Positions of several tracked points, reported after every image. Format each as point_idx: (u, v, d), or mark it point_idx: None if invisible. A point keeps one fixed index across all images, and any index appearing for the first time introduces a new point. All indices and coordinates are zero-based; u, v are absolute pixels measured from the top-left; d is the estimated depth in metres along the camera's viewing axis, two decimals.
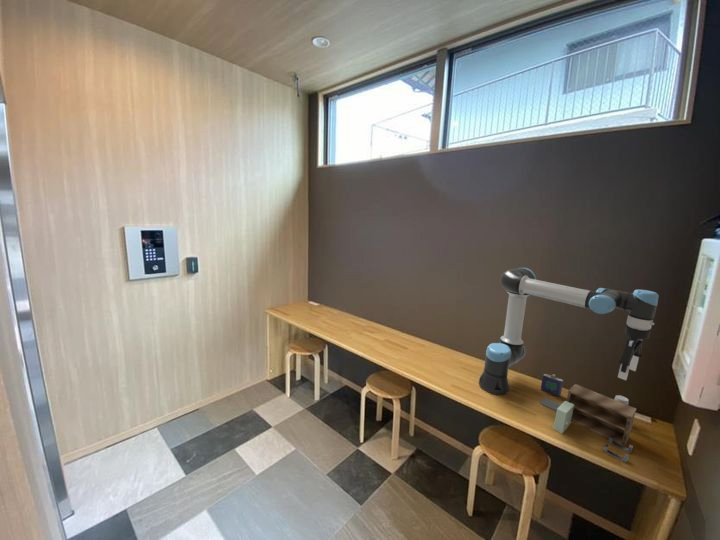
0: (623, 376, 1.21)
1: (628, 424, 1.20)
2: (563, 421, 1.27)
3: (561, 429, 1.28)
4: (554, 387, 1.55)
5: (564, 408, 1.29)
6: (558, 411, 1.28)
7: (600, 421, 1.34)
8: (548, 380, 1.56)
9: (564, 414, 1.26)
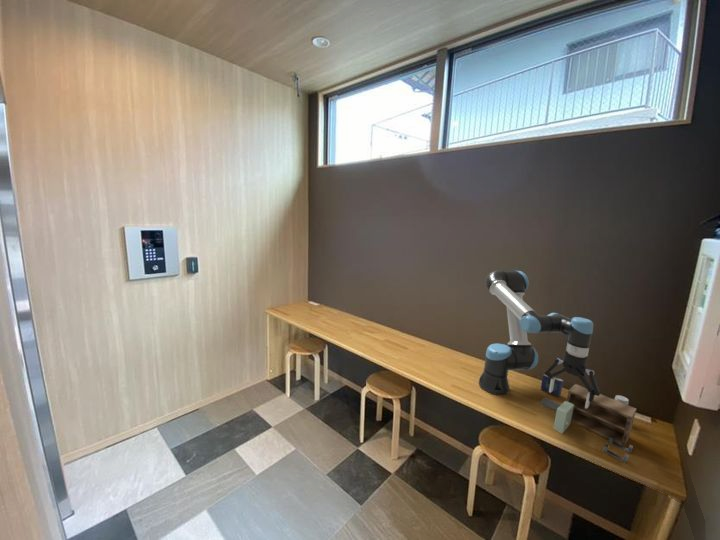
0: None
1: (628, 424, 1.20)
2: (563, 421, 1.27)
3: (561, 429, 1.28)
4: (554, 387, 1.55)
5: (564, 408, 1.29)
6: (558, 411, 1.28)
7: (600, 421, 1.34)
8: None
9: (564, 414, 1.26)
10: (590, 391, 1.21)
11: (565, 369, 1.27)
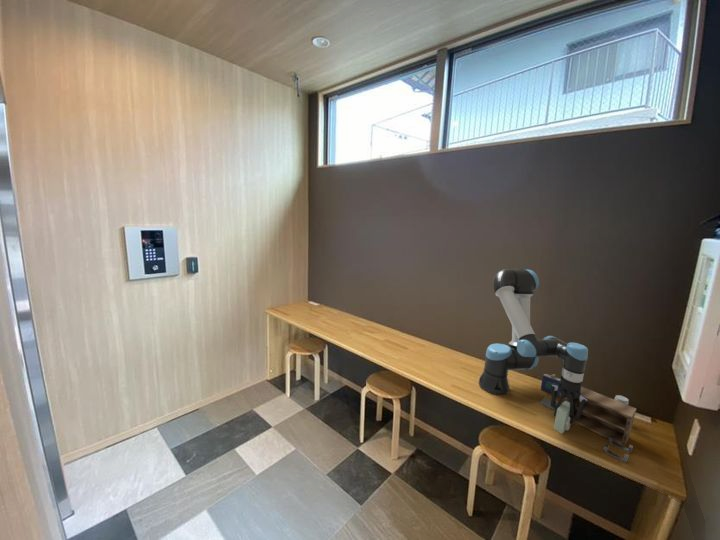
0: None
1: (628, 424, 1.20)
2: (563, 421, 1.27)
3: (561, 429, 1.28)
4: None
5: (564, 408, 1.29)
6: (558, 411, 1.28)
7: (600, 421, 1.34)
8: (548, 380, 1.56)
9: (564, 414, 1.26)
10: (572, 414, 1.27)
11: (562, 395, 1.29)
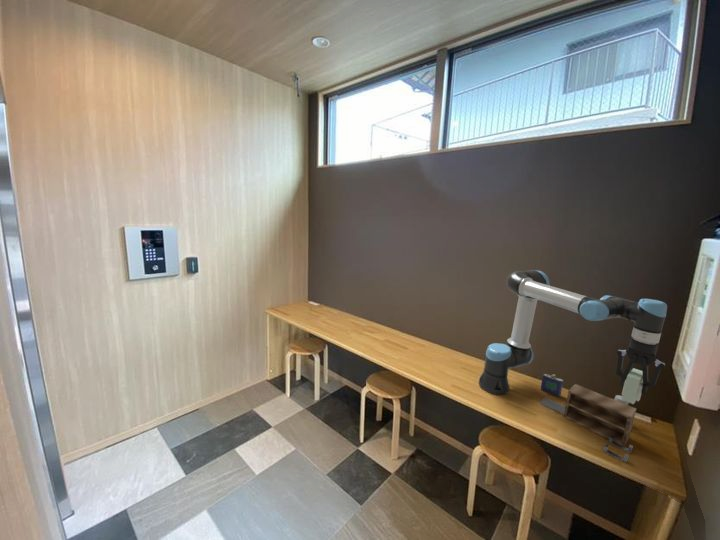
0: (622, 391, 1.16)
1: (628, 424, 1.20)
2: (635, 390, 1.09)
3: (632, 399, 1.10)
4: (554, 387, 1.55)
5: (635, 375, 1.11)
6: (629, 378, 1.10)
7: (600, 421, 1.34)
8: (548, 380, 1.56)
9: (637, 381, 1.09)
10: (645, 382, 1.10)
11: (633, 360, 1.12)
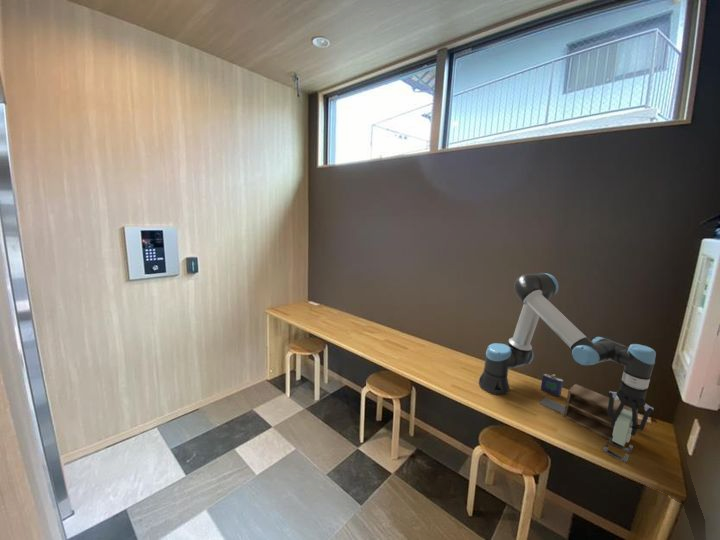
0: (613, 431, 1.19)
1: None
2: (625, 432, 1.13)
3: (622, 441, 1.14)
4: (554, 387, 1.55)
5: (625, 418, 1.15)
6: (619, 421, 1.14)
7: (600, 421, 1.34)
8: (548, 380, 1.56)
9: (627, 425, 1.12)
10: (634, 425, 1.13)
11: (623, 402, 1.15)
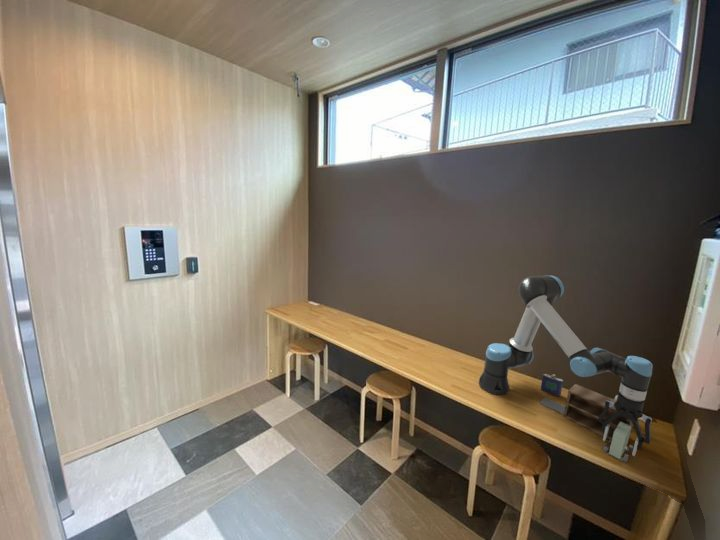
0: None
1: (628, 424, 1.20)
2: (622, 445, 1.14)
3: (619, 454, 1.15)
4: (554, 387, 1.55)
5: (621, 431, 1.16)
6: (615, 434, 1.15)
7: None
8: (548, 380, 1.56)
9: (623, 438, 1.13)
10: (640, 438, 1.12)
11: (619, 413, 1.16)
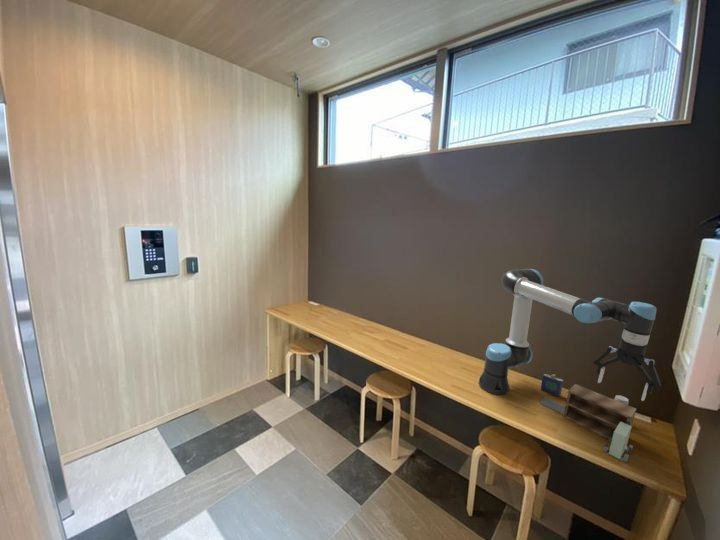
0: (599, 378, 1.24)
1: (628, 424, 1.20)
2: (622, 445, 1.14)
3: (619, 454, 1.15)
4: (554, 387, 1.55)
5: (621, 431, 1.16)
6: (615, 434, 1.15)
7: (600, 421, 1.34)
8: (548, 380, 1.56)
9: (623, 438, 1.13)
10: (649, 382, 1.11)
11: (619, 358, 1.17)
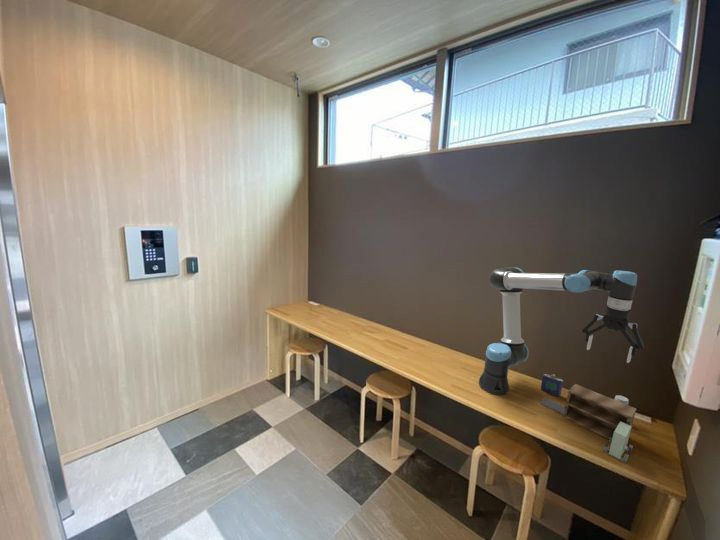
0: None
1: (628, 424, 1.20)
2: (622, 445, 1.14)
3: (619, 454, 1.15)
4: (554, 387, 1.55)
5: (621, 431, 1.16)
6: (615, 434, 1.15)
7: (600, 421, 1.34)
8: (548, 380, 1.56)
9: (623, 438, 1.13)
10: (633, 344, 1.19)
11: (605, 324, 1.25)
